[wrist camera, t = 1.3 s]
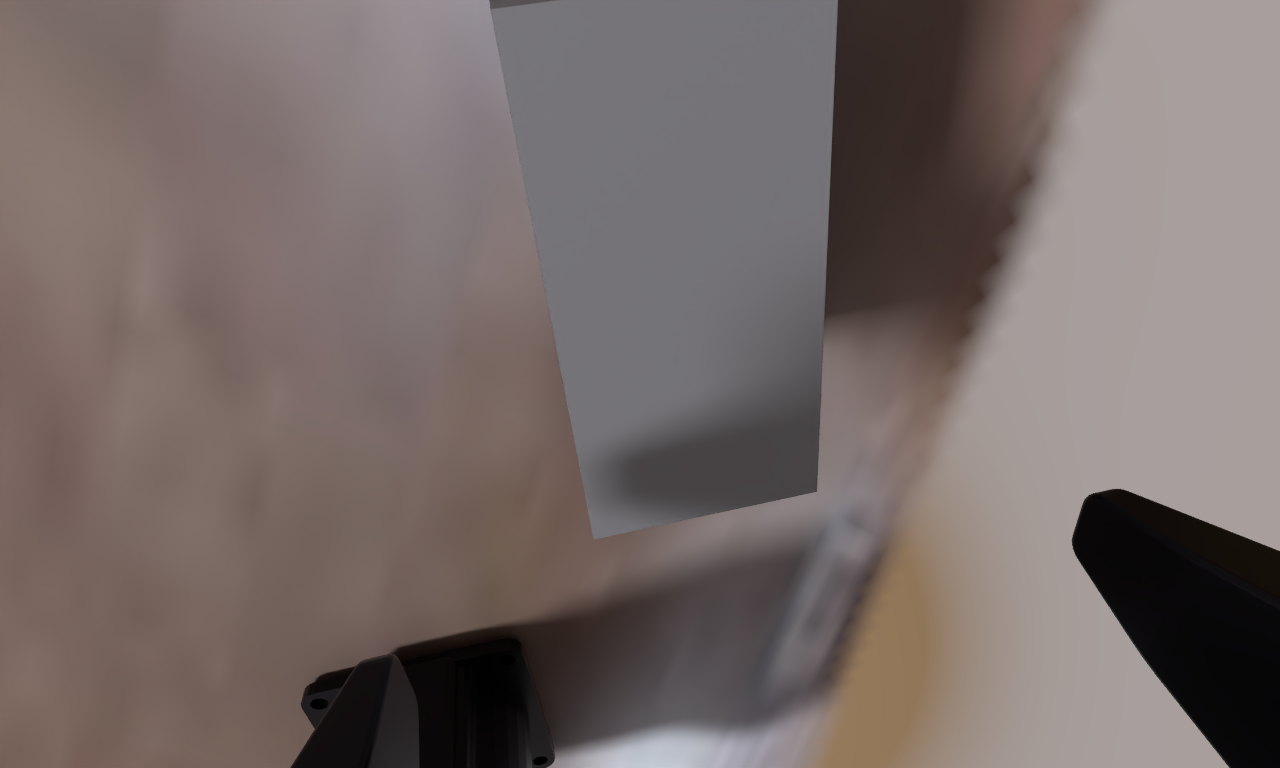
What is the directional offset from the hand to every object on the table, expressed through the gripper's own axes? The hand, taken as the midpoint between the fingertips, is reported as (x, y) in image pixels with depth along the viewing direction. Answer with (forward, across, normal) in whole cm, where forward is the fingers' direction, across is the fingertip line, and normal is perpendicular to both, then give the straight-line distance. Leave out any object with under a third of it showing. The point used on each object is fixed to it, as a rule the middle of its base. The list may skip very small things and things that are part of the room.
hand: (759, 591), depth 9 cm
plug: (+9, 0, -3) cm, 9 cm away
